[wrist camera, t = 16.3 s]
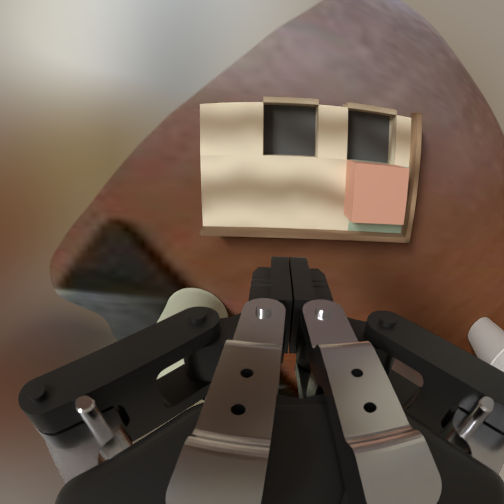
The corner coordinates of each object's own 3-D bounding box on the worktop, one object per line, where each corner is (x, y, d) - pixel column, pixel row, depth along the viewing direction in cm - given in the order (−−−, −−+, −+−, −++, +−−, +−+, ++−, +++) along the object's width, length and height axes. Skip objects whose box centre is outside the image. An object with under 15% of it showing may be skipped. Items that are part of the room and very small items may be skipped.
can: (178, 341, 43) (155, 398, 32) (157, 291, 39) (122, 344, 28) (235, 336, 41) (223, 398, 30) (218, 283, 38) (197, 340, 27)
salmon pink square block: (391, 216, 30) (403, 224, 27) (343, 213, 31) (351, 222, 28) (396, 164, 28) (409, 168, 25) (346, 160, 29) (355, 163, 25)
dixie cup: (459, 353, 41) (481, 388, 32) (464, 320, 38) (492, 356, 29) (490, 337, 39) (514, 368, 30) (497, 304, 36) (526, 335, 27)
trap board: (396, 231, 33) (409, 243, 30) (207, 224, 35) (200, 235, 31) (406, 115, 28) (422, 113, 24) (205, 101, 29) (196, 97, 26)
